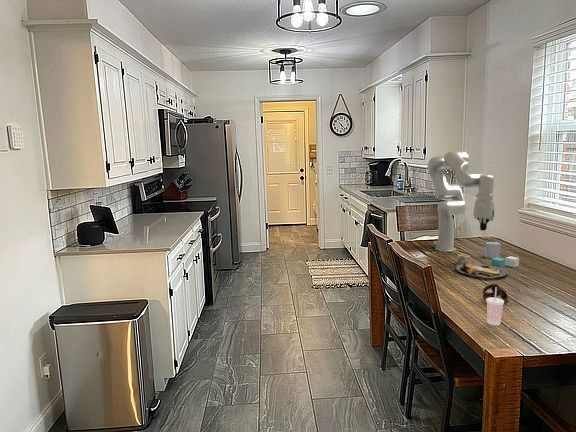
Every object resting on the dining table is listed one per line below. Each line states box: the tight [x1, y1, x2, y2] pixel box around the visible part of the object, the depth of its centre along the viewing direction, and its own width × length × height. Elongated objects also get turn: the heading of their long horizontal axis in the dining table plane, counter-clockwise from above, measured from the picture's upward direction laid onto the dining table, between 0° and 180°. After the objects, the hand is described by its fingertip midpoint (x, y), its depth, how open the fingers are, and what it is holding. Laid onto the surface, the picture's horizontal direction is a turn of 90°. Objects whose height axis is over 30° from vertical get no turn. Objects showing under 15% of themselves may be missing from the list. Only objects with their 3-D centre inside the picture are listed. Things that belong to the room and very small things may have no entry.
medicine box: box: [483, 241, 502, 259], centre depth 256 cm, size 8×4×9 cm, turn 84°
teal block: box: [490, 257, 506, 269], centre depth 237 cm, size 5×5×4 cm
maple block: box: [456, 253, 471, 265], centre depth 245 cm, size 5×5×4 cm
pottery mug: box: [482, 283, 509, 304], centre depth 189 cm, size 12×10×8 cm
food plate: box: [454, 262, 509, 279], centre depth 227 cm, size 25×23×4 cm
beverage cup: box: [485, 287, 505, 326], centre depth 164 cm, size 6×6×14 cm
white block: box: [504, 255, 520, 268], centre depth 239 cm, size 5×5×4 cm
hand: (483, 230), depth 242 cm, fingers closed
